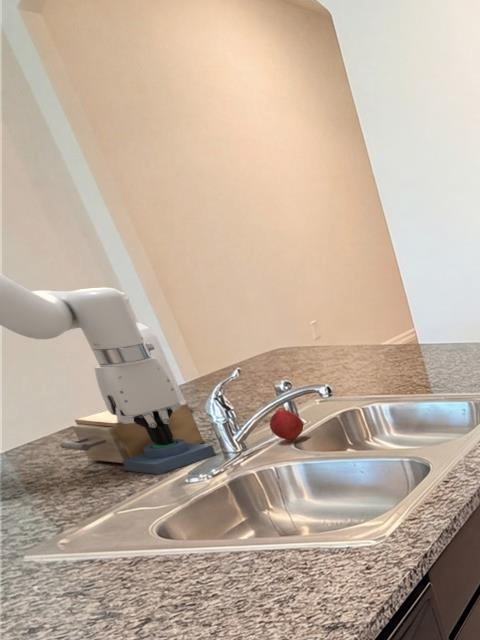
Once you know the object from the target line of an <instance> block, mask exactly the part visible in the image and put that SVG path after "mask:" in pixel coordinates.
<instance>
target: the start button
mask: <svg viewBox="0 0 480 640" xmlns="http://www.w3.org/2000/svg"><path fill="white" fill-rule="evenodd" d="M174 444H176V442H175V441H174V443H172V444H170V443H169V444H168V445H157V444H154V445H153V446H152V447H153V448H163V447H168V446H171V445H174Z"/></svg>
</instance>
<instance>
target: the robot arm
mask: <svg viewBox="0 0 480 640" xmlns="http://www.w3.org/2000/svg"><path fill="white" fill-rule="evenodd" d="M121 292H122V291H120V290H118V289H116V288H113V287H92V288H83V289H76V290H30V289H28V288H26V287H25V286H23V285H21V284H20V283H17V282H16V281H14V280H12V279H10V278H9V277H7V276H6V275H4V274H2V273H1V272H0V326H1V327H3V328H5V329H7V330H8V331H10V332H13V333H15V334H18V335H20V336H23V337H26V338H29V339H34V340H50V339H55V338H57V337H59V336H61V335H63V334H65V332H68V331H70V330H74V329H80V330H82V333H83V335H84V337H85V338H86V341H87V343H88V345H89V347H90V349H91V351H92V353H93V355H94V357H95V359H96V361H97V363H98V365H96V366H94V374H95V378H96V382H97V386H98V389H99V392H100V394H101V397H102V400H103V401H104V405H105V406H106V409H107V411H109V412H110V413H111V414H112V415H117V421H118V423H122V424H130V423H136V424H138V425H141V426H142V427H145V428H146V430H147V432H148V434H149V436H150V438H151V440H152V441H153V442H154V443H155V444H157V445H168V444H169V443H170V444H172V443H174V440H173V435H172V433H171V430H170V428H169V426H168V423H169V422H170V420H169V418H170V416H171V414H172V413H173V412H175V411H177V410H178V409H180V408H181V405H180V403H179V397H178V394H177V392H176V390H175V388H174V386H173V384H172V382H171V380H170V378H169V377H168V375H167V373H166V372H165V370H164V369H163V367H162V366H161V365H160V363H159V362H158V361H157V360H156V358H154V357H151V353H150V351H151V350H154V346H153V345H152V344H146V343H145V342H144V340H143V338H142V336H141V334H140V331H139V329H138V327H137V325H136V323H135V320H134V318H133V316H132V314H131V312H130V309H129V307H128V305H127V303H126V301H125V298H124V297H123V295H122V293H121ZM150 412H151V415H152V416H151V415H150ZM130 416H133V417H130Z"/></svg>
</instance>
